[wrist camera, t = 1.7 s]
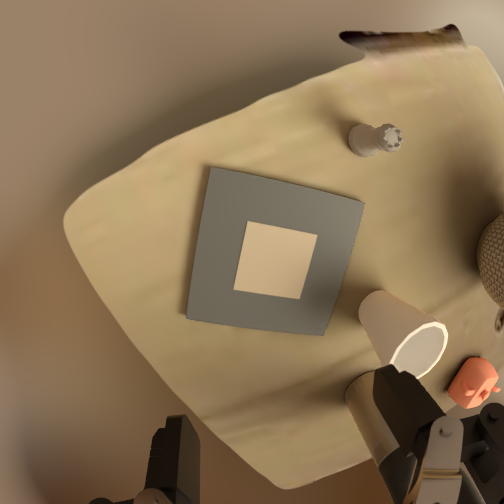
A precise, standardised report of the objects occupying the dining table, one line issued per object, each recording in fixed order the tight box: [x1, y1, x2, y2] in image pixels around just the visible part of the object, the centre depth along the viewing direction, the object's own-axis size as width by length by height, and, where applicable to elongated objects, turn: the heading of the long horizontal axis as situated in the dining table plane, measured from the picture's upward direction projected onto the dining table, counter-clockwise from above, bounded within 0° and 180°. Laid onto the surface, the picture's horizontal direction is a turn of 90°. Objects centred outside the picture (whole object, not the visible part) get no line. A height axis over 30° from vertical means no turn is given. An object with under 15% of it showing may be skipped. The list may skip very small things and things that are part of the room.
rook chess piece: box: [348, 124, 403, 157], centre depth 30 cm, size 4×4×8 cm
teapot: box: [448, 357, 500, 408], centre depth 47 cm, size 12×18×10 cm, turn 74°
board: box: [186, 167, 365, 336], centre depth 37 cm, size 20×20×1 cm
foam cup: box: [358, 290, 448, 379], centre depth 35 cm, size 10×9×13 cm
